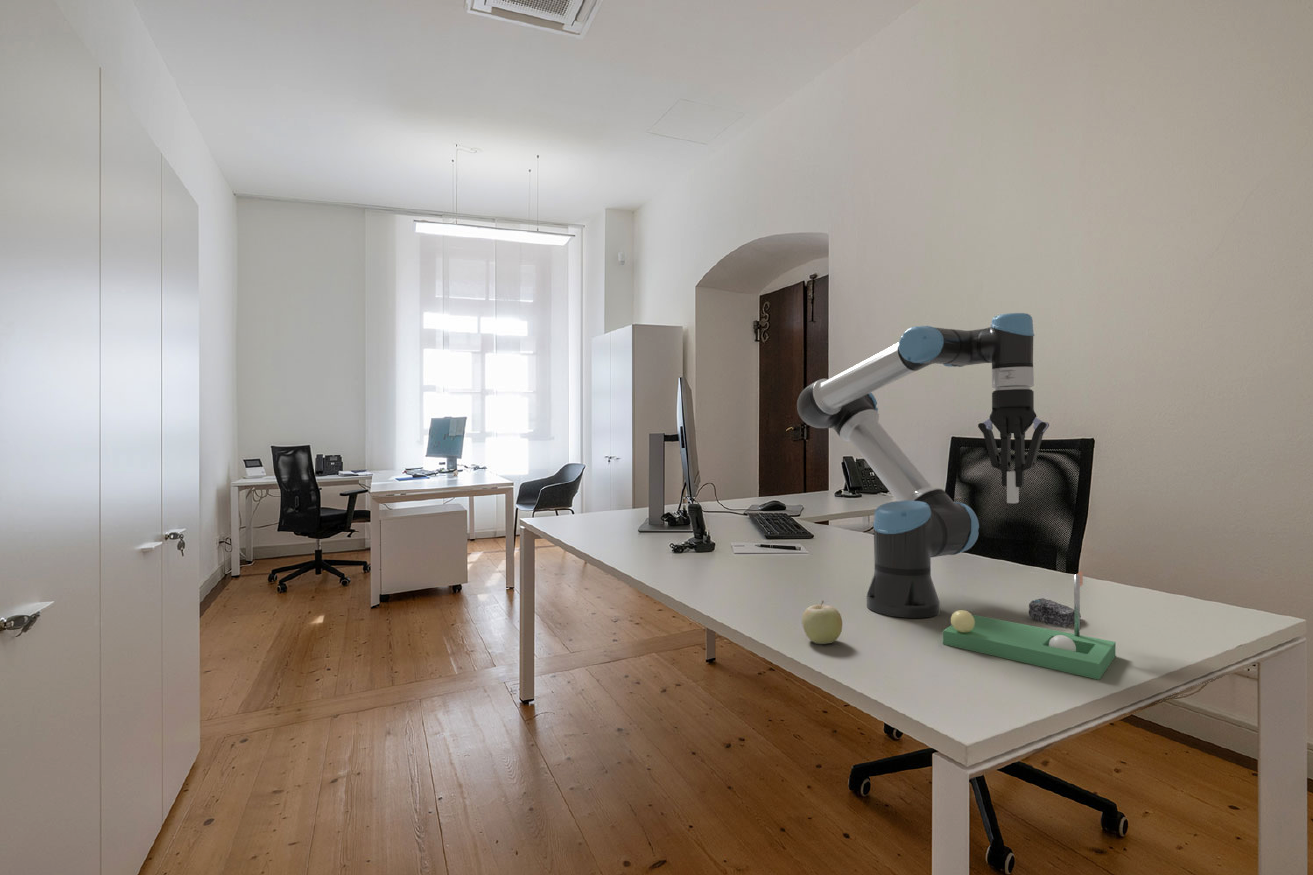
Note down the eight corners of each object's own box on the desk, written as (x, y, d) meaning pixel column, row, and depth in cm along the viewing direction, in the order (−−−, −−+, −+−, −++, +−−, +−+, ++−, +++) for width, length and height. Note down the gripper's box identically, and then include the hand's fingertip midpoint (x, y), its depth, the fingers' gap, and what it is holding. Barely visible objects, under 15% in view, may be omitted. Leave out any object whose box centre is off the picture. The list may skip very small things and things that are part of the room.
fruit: (849, 647, 115) (849, 603, 114) (812, 649, 113) (811, 606, 113) (831, 633, 122) (831, 593, 122) (795, 636, 121) (795, 595, 121)
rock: (1089, 621, 129) (1089, 600, 129) (1062, 629, 124) (1062, 608, 124) (1051, 611, 135) (1050, 592, 135) (1024, 619, 130) (1024, 599, 130)
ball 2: (1053, 663, 107) (1042, 640, 108) (1058, 659, 109) (1046, 636, 111) (1078, 658, 104) (1066, 634, 106) (1082, 654, 107) (1070, 630, 109)
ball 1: (947, 632, 114) (947, 610, 114) (955, 627, 117) (955, 606, 117) (970, 637, 112) (970, 615, 112) (978, 631, 114) (978, 610, 114)
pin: (1073, 635, 112) (1073, 574, 112) (1079, 630, 115) (1079, 570, 115) (1079, 636, 111) (1079, 575, 111) (1084, 631, 114) (1084, 571, 114)
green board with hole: (942, 643, 116) (942, 630, 116) (969, 626, 125) (969, 613, 125) (1099, 679, 99) (1099, 663, 99) (1115, 656, 108) (1115, 641, 108)
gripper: (972, 390, 131) (973, 501, 131) (1043, 386, 122) (1044, 506, 122) (984, 391, 136) (985, 498, 137) (1053, 388, 127) (1053, 503, 127)
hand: (1012, 502), depth 129 cm, fingers closed
